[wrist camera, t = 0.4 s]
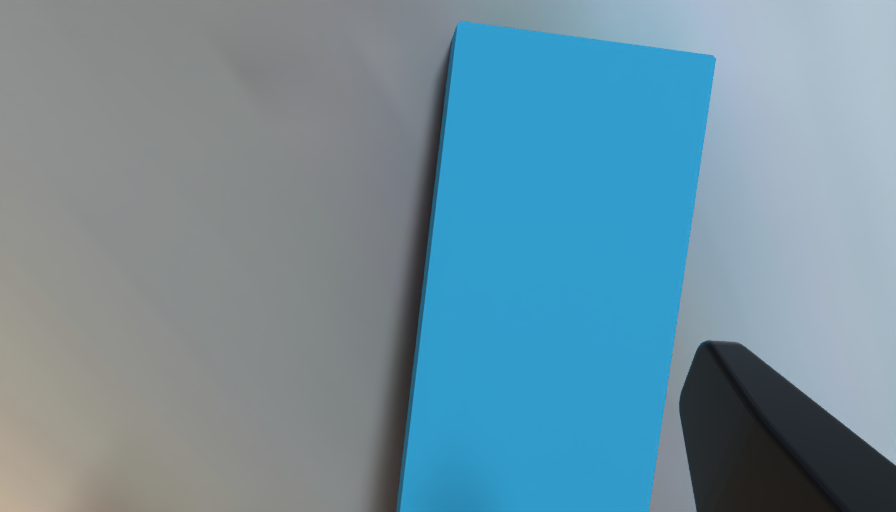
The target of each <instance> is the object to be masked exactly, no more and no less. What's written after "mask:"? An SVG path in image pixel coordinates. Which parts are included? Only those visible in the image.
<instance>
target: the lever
mask: <svg viewBox="0 0 896 512" xmlns="http://www.w3.org/2000/svg"><path fill="white" fill-rule="evenodd" d="M715 61H716V58H715V57H714V56H713V55H706V54H698V53H691V52H683V51H676V50H669V49H661V48H654V47H647V46H639V45H632V44H625V43H617V42H610V41H602V40H595V39H588V38H580V37H573V36H566V35H558V34H551V33H544V32H536V31H529V30H521V29H514V28H507V27H499V26H492V25H485V24H477V23H470V22H462V21H461V22H460V23H458V24H457V27H456V29H455V32H454V35H453V38H452V44H451V51H450V59H449V67H448V74H447V83H446V91H445V100H444V108H443V117H442V125H441V134H440V142H439V151H438V159H437V168H436V176H435V185H434V193H433V202H432V210H431V219H430V227H429V236H428V244H427V253H426V261H425V270H424V278H423V287H422V295H421V304H420V312H419V321H418V329H417V338H416V346H415V355H414V363H413V372H412V380H411V389H410V397H409V406H408V414H407V423H406V431H405V440H404V448H403V456H402V465H401V473H400V482H399V490H398V499H397V507H396V512H649V506H650V499H651V492H652V485H653V479H654V472H655V465H656V458H657V452H658V445H659V438H660V432H661V425H662V418H663V411H664V405H665V398H666V391H667V384H668V378H669V371H670V364H671V357H672V351H673V344H674V337H675V331H676V324H677V317H678V310H679V304H680V297H681V290H682V283H683V277H684V270H685V263H686V256H687V250H688V243H689V236H690V230H691V223H692V216H693V209H694V203H695V196H696V189H697V182H698V176H699V169H700V162H701V155H702V149H703V142H704V135H705V129H706V122H707V115H708V108H709V102H710V95H711V88H712V81H713V75H714V68H715Z"/></svg>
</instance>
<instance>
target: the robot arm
mask: <svg viewBox="0 0 896 512" xmlns="http://www.w3.org/2000/svg"><path fill="white" fill-rule="evenodd" d="M679 412H680V418H681V424H682V430H683V436H684V441H685V447H686V453H687V458H688V464H689V470H690V476H691V481H692V487H693V493H694V499H695V504H696V510H697V512H896V465H894V464H893V463H892V462H890V461H889V460H888V459H887V458H885V457H884V456H883V455H882V454H880V453H879V452H878V451H876V450H875V449H874V448H873V447H871V446H870V445H869V444H868V443H866V442H865V441H864V440H863V439H861V438H860V437H859V436H857V435H856V434H855V433H854V432H852V431H851V430H850V429H849V428H847V427H846V426H845V425H844V424H842V423H841V422H840V421H838V420H837V419H836V418H835V417H833V416H832V415H831V414H830V413H828V412H827V411H826V410H825V409H823V408H822V407H821V406H819V405H818V404H817V403H816V402H814V401H813V400H812V399H811V398H809V397H808V396H807V395H806V394H804V393H803V392H802V391H800V390H799V389H798V388H797V387H795V386H794V385H793V384H792V383H790V382H789V381H788V380H787V379H785V378H784V377H783V376H781V375H780V374H779V373H778V372H776V371H775V370H774V369H773V368H771V367H770V366H769V365H768V364H766V363H765V362H764V361H762V360H761V359H760V358H759V357H757V356H756V355H755V354H754V353H752V352H751V351H750V350H748V349H747V348H746V347H745V346H743V345H742V344H740V343H737V342H726V341H710V340H709V341H705V342H703V343H701V344H700V346H699V347H698V349H697V351H696V353H695V356H694V359H693V361H692V364H691V367H690V369H689V372H688V375H687V377H686V380H685V383H684V386H683V388H682V391H681V395H680V402H679Z"/></svg>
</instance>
